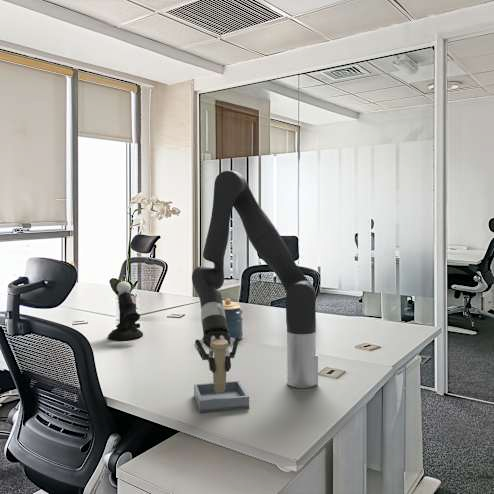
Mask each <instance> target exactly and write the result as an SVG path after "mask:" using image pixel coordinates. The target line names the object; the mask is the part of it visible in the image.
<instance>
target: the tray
mask: <svg viewBox="0 0 494 494" xmlns="http://www.w3.org/2000/svg"><path fill="white" fill-rule="evenodd" d="M225 387H226V389H225V392H223V393H216V392H214V388H215V387H214V382H209V383H208V382H207V383H195V384H193V397H194V400H195V403H196V405H197V408H198V412H199V414H208V413H217V412H218V413H221V412H228V411H238V410H239V411H240V410H249V409H250V396H249V394H248V392H247V391H246V389H245V388H244V386H243V384H242V382H241V381H240V380H231V381H226V386H225Z"/></svg>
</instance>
